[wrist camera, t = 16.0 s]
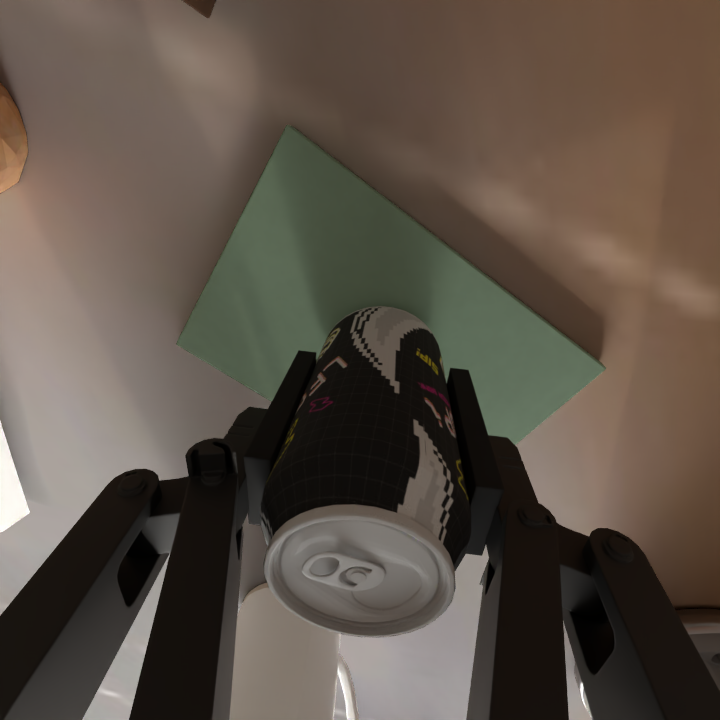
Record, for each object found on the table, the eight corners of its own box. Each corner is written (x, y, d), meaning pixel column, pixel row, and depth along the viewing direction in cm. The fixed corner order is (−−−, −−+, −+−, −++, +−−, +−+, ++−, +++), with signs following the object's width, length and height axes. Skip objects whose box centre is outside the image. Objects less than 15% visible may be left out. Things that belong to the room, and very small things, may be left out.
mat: (601, 363, 20) (607, 368, 19) (442, 497, 25) (443, 505, 24) (290, 124, 16) (286, 123, 16) (180, 339, 21) (175, 344, 21)
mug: (229, 623, 34) (166, 797, 25) (250, 562, 30) (183, 744, 20) (351, 659, 35) (333, 840, 25) (388, 604, 30) (383, 797, 21)
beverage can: (363, 277, 18) (306, 451, 7) (464, 341, 19) (540, 575, 8) (305, 367, 21) (201, 594, 10) (396, 420, 22) (391, 678, 11)
